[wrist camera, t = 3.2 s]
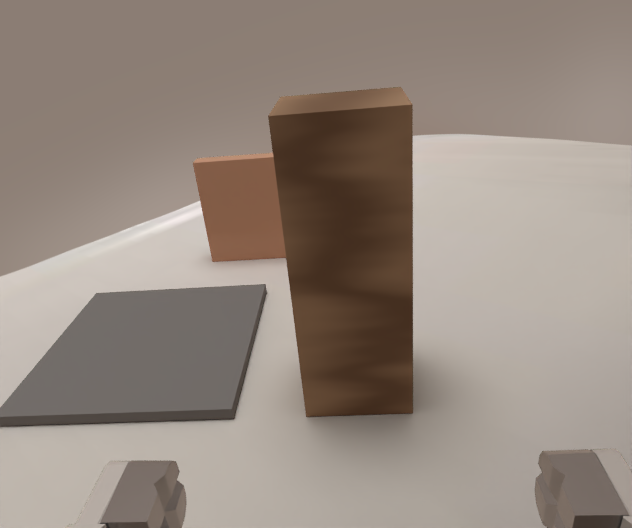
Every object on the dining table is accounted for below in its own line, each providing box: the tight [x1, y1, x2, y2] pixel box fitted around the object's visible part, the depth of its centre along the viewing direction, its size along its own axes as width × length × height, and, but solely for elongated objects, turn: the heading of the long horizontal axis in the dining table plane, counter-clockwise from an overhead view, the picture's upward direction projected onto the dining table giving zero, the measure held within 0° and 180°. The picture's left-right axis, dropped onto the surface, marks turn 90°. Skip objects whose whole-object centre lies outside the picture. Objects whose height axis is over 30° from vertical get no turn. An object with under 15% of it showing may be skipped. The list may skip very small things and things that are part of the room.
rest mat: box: [0, 284, 267, 426], centre depth 30 cm, size 12×12×1 cm
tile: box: [193, 153, 286, 262], centre depth 39 cm, size 10×2×8 cm, turn 87°
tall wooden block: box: [268, 87, 413, 417], centre depth 23 cm, size 5×5×14 cm
